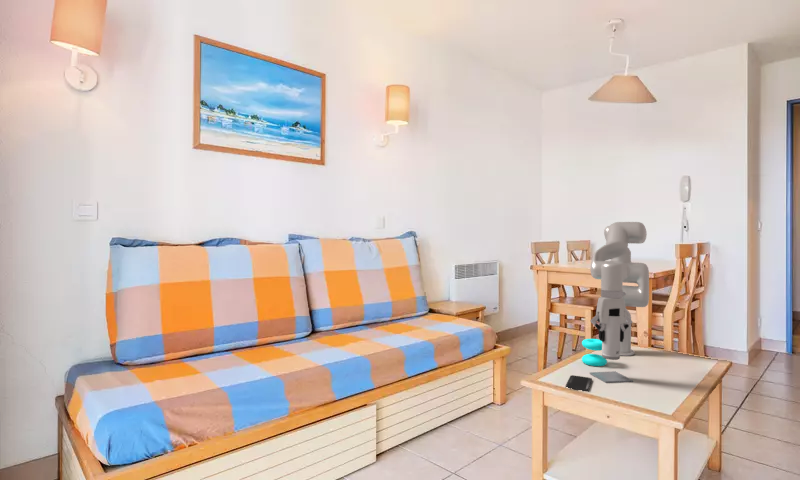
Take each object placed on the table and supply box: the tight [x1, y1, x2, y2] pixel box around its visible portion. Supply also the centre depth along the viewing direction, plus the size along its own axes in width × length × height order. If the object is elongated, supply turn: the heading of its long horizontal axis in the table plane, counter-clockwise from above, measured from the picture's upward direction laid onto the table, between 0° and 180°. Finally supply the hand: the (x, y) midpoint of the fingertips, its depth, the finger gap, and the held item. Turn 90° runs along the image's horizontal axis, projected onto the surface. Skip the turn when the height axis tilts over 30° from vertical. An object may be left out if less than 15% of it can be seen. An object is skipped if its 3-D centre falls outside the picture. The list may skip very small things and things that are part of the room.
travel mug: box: [601, 308, 621, 361], centre depth 177 cm, size 6×7×20 cm
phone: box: [565, 375, 593, 392], centre depth 170 cm, size 8×1×15 cm
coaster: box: [589, 370, 634, 384], centre depth 177 cm, size 11×11×1 cm
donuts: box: [581, 338, 608, 367], centre depth 196 cm, size 10×10×10 cm
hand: (611, 340), depth 177 cm, fingers closed on travel mug, 6 cm apart
